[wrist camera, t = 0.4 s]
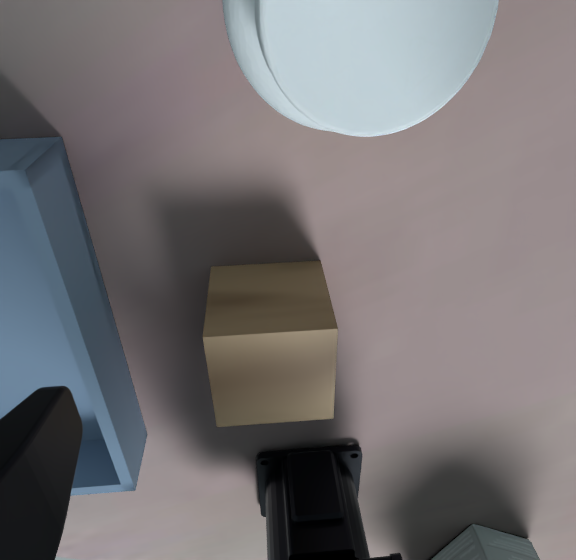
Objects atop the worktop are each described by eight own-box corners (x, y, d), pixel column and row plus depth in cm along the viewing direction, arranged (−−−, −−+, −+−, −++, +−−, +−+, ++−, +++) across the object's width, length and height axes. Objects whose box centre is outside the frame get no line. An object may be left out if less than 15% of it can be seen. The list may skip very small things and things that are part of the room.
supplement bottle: (387, 72, 17) (513, 161, 9) (241, 85, 17) (237, 188, 9) (395, -119, 14) (593, -239, 6) (218, -105, 14) (181, -205, 6)
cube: (318, 341, 24) (333, 418, 20) (221, 348, 24) (216, 427, 20) (320, 259, 22) (337, 328, 17) (211, 265, 21) (202, 337, 17)
